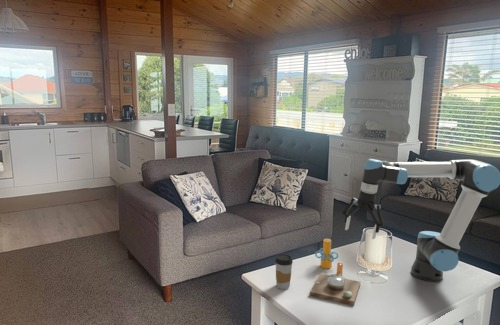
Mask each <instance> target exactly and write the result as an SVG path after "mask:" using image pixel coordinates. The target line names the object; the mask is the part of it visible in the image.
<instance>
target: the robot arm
mask: <svg viewBox="0 0 500 325" xmlns="http://www.w3.org/2000/svg"><path fill="white" fill-rule="evenodd" d="M363 169H364V170H363V174H362V181H361V184H360V190H359V193H358V194H359V195H358V199H357V198H356V197H352V198H350V202H349V204H348V205H347V206H346V207H345V208H344V210H343V211H342V215H344V216H345V218H344V223H345V226H344V227H345V228H344V231H347V230H349V227H350V223H351V215H352V214H354V213H356V211H358V210H359V209H360V211H364V212H368V213H369V215H370V216H371V218H372V220H373V222H374V223H375V225H374V228H373V232H372V236H371V239H372V240H375V239H376V236H377V234H379V232H380V228H381V227H383V226H385V225H386V224H385V220H384V217H383V213H382V205H381V204H377V203H375V201H376V198H377V197H376V196H377V192H378V188H379V183H380V182H385V183H392V184H396V185H404V184H406V183H407V181H408V178H449V179H450V180H457V181H462V182H461V184H460V187H461V188H462V190H461V193H460V195H459V196H458V199H457V200H456V203H455V204H454V207H453V208H452V210H451V212H450V214H449V216H448V218H447V221H446V222H445V224H444V226H443V228H442V230H441V232H437V231H431V230H424V231H423V230H422V231H419V232H418V235H417V245H416V256H415V259H414V261H413V264H412V265H411V268H410V273H411V275H413V276H414V277H416V279H417V278H418V279H420V280H423V281H427V282H439V281H441V280H443V278H444V277H443V276H444V273H443V272H450V271H452V270H454V269H456V267H457V266H458V264H459V261H460V260H459V259H460V258H459V256H458V254H459V252H460V250H461V246H460V242H461V240H462V238H463V236H464V234H465V232H466V230H467V228H468V226H469V224H470V222H471V220H472V218H473V217H474V214H475V212H476V211H477V209H478V207H479V205H480V203H481V201H482V199H483V198H485V197H488V196H489V194H490V192H493V191H494V190H496V189H497V188H498V187H499V186H500V171H499V169H498V167H495V166H494V165H492V164H490V163H487V162H484V161H481V160H479V159H451V160H449V161H422V162H421V161H412V162H411V161H404V162H403V161H388V160H380V159H375V158H368V159H367V160H366V161H365V164H364V167H363ZM356 203H357V206H355V207H354V208H353V209H352V210H350V209H351V208H352V207H353V205H354V204H356ZM374 208H375V209H376V213H377V214H376V213H375V210H374ZM349 210H350V211H349Z"/></svg>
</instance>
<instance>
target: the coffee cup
mask: <svg viewBox="0 0 500 325" xmlns="http://www.w3.org/2000/svg"><path fill="white" fill-rule="evenodd" d="M274 262H275V280H276V283H275V284H276V287H277V288H278V289H280V290H288V289H289V288H290V285H291V277H292V270H293V269H292V267H293V257H292V256H291V255H290V254H285V253H280V254H277V255H276V257H275V260H274Z"/></svg>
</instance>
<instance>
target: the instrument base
mask: <svg viewBox="0 0 500 325" xmlns="http://www.w3.org/2000/svg"><path fill="white" fill-rule="evenodd" d="M329 275H330V274H324V273H319V275H318V277H317V279H316V280H315V281H314V282H313V283H314V284H313V285H312V287H311V289H310V291H309V297H313V298H314V297H315V298H317V299H323V300H328V301H331V302H336V303H340V304H344V305H350V306H355V304H356V300H357V297H358V294H359V291H360V289H361V288H360V287H361V281H359V280H354V279H349V278H345V288H344V289H343V290H333V289H330V288H329V287H328V286H327V283H328V276H329Z"/></svg>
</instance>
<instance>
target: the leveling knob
mask: <svg viewBox="0 0 500 325" xmlns="http://www.w3.org/2000/svg"><path fill="white" fill-rule="evenodd" d="M336 265H337V266H336V273H335V274H334V273H333V274H328V275H329V276H328V283H327V286H328V287H329V288H330V289H333V290H343V289H344V288H345V279H346V278H345V276H344V275H343V267H344V266H343V265H344V264H343V263H341V262H338V263H337V264H336Z"/></svg>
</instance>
